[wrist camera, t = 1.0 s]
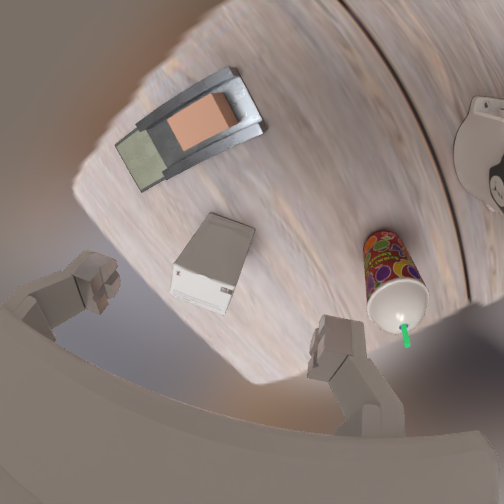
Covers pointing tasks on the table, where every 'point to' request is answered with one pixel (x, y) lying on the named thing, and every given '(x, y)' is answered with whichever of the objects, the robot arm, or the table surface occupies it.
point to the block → (202, 120)
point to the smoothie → (393, 285)
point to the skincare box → (211, 264)
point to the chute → (166, 144)
